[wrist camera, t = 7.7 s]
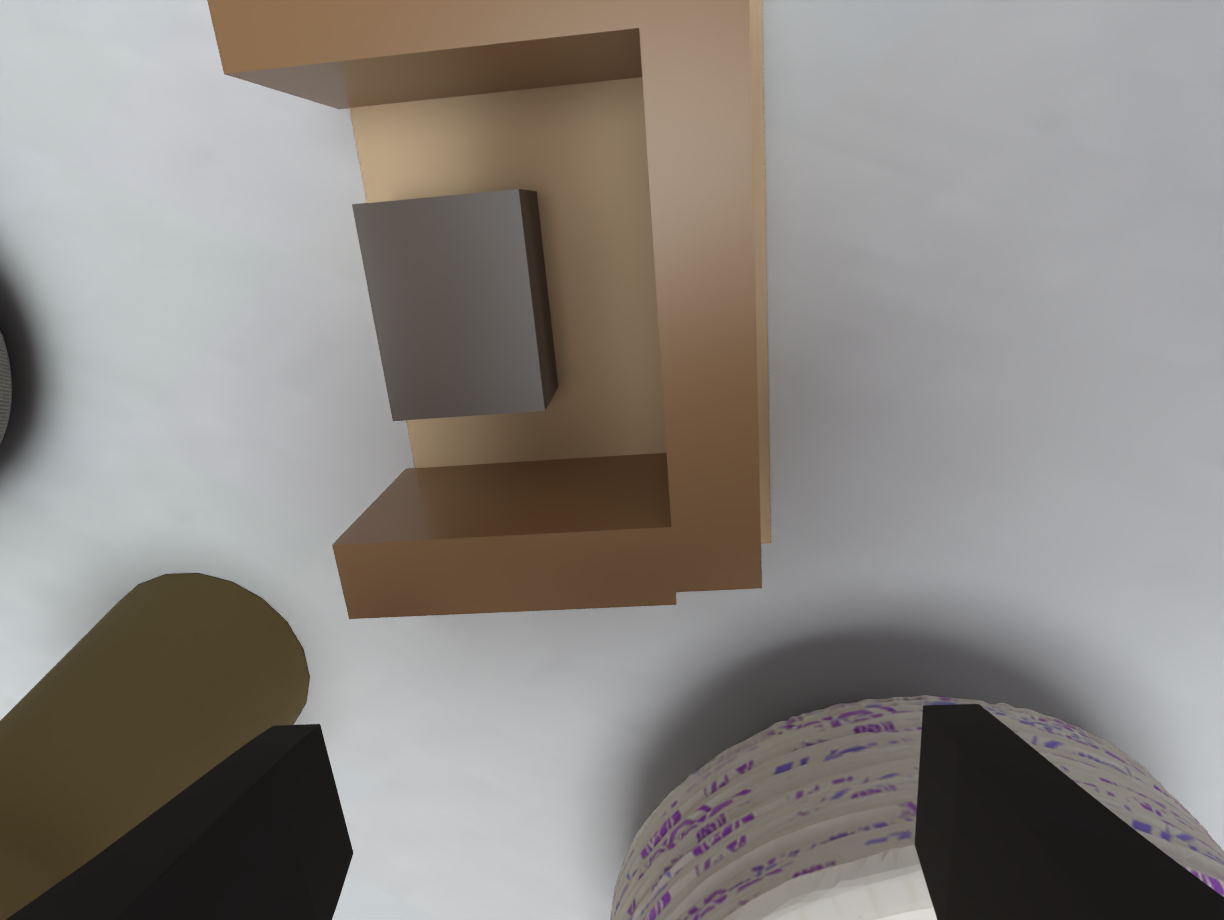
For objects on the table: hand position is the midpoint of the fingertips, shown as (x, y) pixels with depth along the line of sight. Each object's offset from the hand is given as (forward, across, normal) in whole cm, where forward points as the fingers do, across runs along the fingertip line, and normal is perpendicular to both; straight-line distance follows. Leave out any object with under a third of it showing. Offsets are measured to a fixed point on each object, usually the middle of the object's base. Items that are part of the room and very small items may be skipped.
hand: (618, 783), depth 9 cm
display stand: (+10, +1, -5) cm, 12 cm away
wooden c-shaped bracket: (+8, +2, -5) cm, 10 cm away
